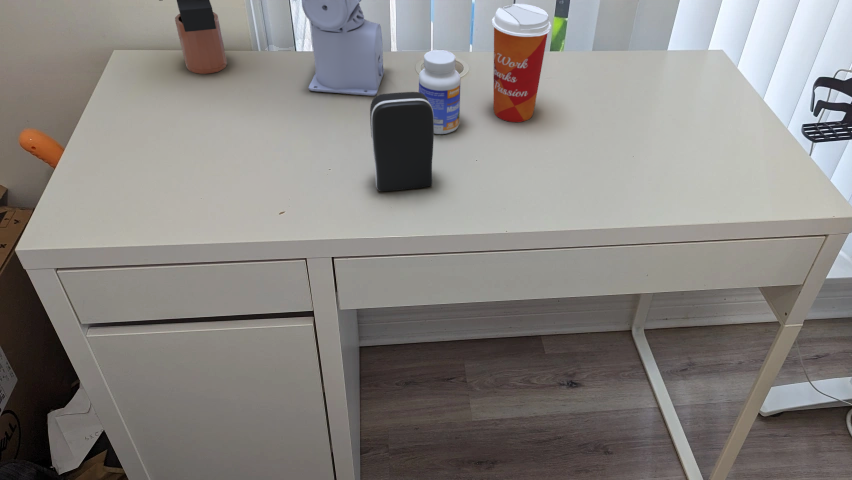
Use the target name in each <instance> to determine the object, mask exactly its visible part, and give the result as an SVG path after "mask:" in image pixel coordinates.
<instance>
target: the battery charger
mask: <svg viewBox="0 0 852 480" xmlns="http://www.w3.org/2000/svg"><path fill="white" fill-rule="evenodd" d="M369 117H370V120H369V121H370V137H371V142H372V151H373V152H372V153H373V160H374V168H375V169H374V170H375V187H376V189H377V190H378V191H379V192H391V191H392V192H393V191H402V190H403V191H404V190H412V189H420V188H426V187H431V186H432V185H433V156H434V139H435V138H434V137H435V133H434V114H433V109H432V106H431V104H430V103H429V101H428V99H427V98H426V96H425V95H424V94H422V93H420V92H419V91H401V92H399V91H398V92H389V93H381V94H378V95H375V96H374V97H373V99H372V101H371V103H370V107H369Z"/></svg>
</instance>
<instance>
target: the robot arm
mask: <svg viewBox="0 0 852 480" xmlns="http://www.w3.org/2000/svg"><path fill="white" fill-rule="evenodd" d="M158 1H162V0H158ZM360 2H362V0H301V7H302V11H303V13H304V15H305V17H306V18H307V19H308V21H309V22H310V31H311V39H312V50H313V57H314V58H313V59H314V67H315V73H314V75H313V77H312V79H311V81H310V83H309V85H308V90H309V91H311V92H320V93H321V92H323V93H335V94H344V95H346V94H347V95H356V96H357V95H358V96H369V97H376V96H377V94H378V91H379V88H380V85H381V82H382V79H383V76H384V73H385V68H384V54H383V51H384V49H383V36H382V35H383V32H382V27H381V24H380V23H379V22H373V21H370V20H367V19H365V15H364V12H363V10H362V7H361V6H360Z"/></svg>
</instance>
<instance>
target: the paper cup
mask: <svg viewBox="0 0 852 480" xmlns="http://www.w3.org/2000/svg"><path fill="white" fill-rule="evenodd" d="M491 25H492V26H493V113H494V115H495V116H496V117H497V118H499V119H500V120H502V121H506V122H509V123H521V122H527V121H528V120H530V119H531V118H532V117H533V116H534V115H533V114H534V112H535V106H536V101H537V95H538V90H539V84H540V80H541V79H540V78H541V74H542V68H543V61H544V56H545V51H546V46H547V45H546V44H547V39H548V34H549V33H550V31H551V29H552V24H551V22H550V17H549V14H548V12H547V11H546V10H544V9H543V8H540V7H538V6H535V5H531V4H526V3H512V4H511V5H510V4H508V5H505V6H502V7H498V8H497V9H496V10H495V14H494V16H493V17H492V19H491Z"/></svg>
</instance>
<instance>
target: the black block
mask: <svg viewBox="0 0 852 480" xmlns="http://www.w3.org/2000/svg"><path fill="white" fill-rule="evenodd" d="M176 3H177V9H178V11H179V14H180V15H181V19H182V23H183V26H184V30H185V32H190V31H200V30H210V29H216V25H215V20H214V15H213V12H214V11H213V6H212V3H211V1H210V0H176Z"/></svg>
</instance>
